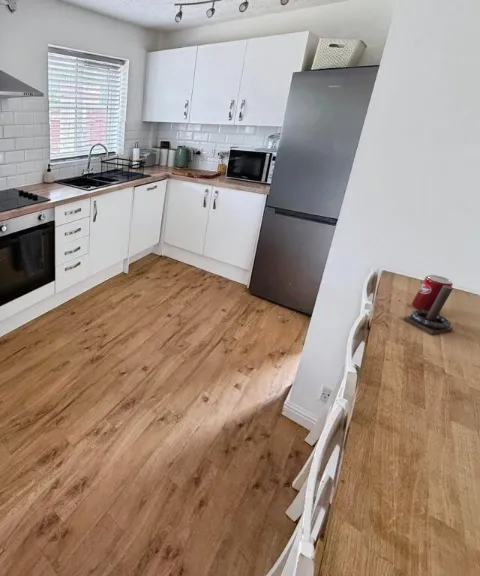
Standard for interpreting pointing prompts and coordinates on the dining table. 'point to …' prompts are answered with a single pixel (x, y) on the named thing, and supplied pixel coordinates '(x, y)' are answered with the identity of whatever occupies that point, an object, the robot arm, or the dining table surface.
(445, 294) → the post
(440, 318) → the ring
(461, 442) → the dining table surface
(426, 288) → the soda can
